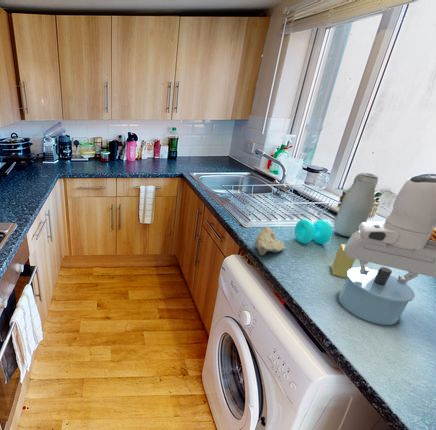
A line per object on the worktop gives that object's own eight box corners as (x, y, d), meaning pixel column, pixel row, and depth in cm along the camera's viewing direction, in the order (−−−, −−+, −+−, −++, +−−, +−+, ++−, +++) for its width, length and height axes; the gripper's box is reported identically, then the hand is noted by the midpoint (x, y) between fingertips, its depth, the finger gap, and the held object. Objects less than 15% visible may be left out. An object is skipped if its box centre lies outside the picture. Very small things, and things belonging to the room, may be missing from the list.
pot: (390, 301, 87) (402, 279, 83) (404, 332, 76) (419, 307, 73) (336, 287, 93) (345, 265, 89) (342, 313, 82) (353, 289, 79)
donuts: (290, 235, 124) (297, 215, 120) (314, 236, 124) (321, 215, 120) (303, 247, 115) (311, 225, 111) (328, 248, 115) (337, 226, 111)
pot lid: (403, 280, 84) (412, 264, 82) (421, 311, 72) (432, 293, 70) (342, 265, 90) (348, 250, 88) (350, 292, 79) (357, 275, 76)
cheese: (267, 245, 120) (243, 224, 117) (284, 238, 116) (260, 216, 112) (270, 274, 110) (245, 252, 106) (289, 267, 105) (263, 244, 101)
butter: (344, 270, 101) (355, 246, 97) (346, 278, 97) (357, 253, 93) (330, 267, 103) (340, 243, 99) (332, 274, 99) (342, 249, 95)
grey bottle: (351, 231, 130) (375, 171, 118) (363, 241, 121) (391, 178, 109) (326, 228, 132) (348, 169, 120) (336, 238, 123) (361, 176, 111)
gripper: (453, 240, 72) (427, 284, 78) (353, 221, 81) (336, 262, 87) (465, 251, 67) (436, 297, 73) (357, 230, 76) (339, 272, 82)
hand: (381, 278), depth 80 cm, fingers open, 7 cm apart
